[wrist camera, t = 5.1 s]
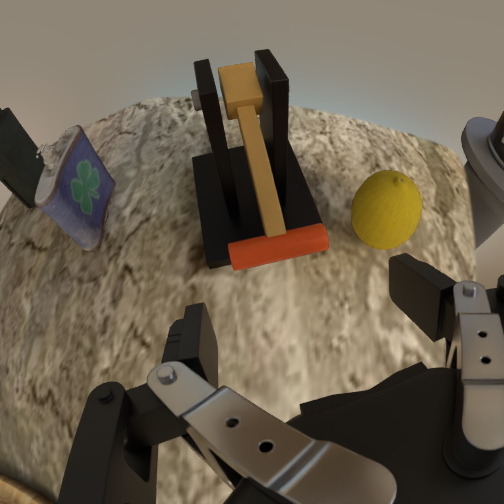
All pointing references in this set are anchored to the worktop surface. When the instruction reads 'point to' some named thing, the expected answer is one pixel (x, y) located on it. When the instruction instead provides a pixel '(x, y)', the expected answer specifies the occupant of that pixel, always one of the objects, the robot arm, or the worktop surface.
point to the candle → (19, 159)
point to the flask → (75, 188)
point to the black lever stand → (246, 166)
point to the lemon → (386, 209)
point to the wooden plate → (18, 493)
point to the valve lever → (262, 179)
